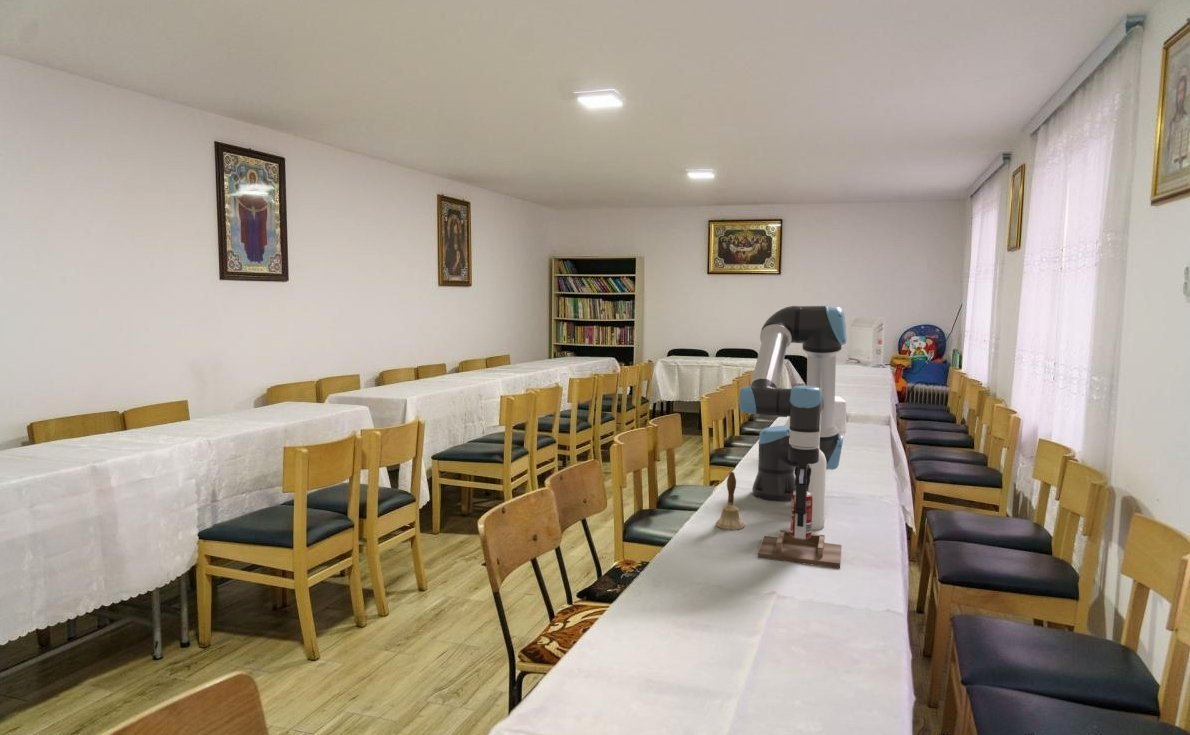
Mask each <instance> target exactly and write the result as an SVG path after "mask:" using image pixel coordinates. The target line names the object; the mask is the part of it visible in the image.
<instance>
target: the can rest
mask: <svg viewBox="0 0 1190 735" xmlns="http://www.w3.org/2000/svg"><path fill="white" fill-rule="evenodd" d="M790 532H791V530H782V529H780V530H779V534H778V536H769V535H764V536H763V539H762V541H761V544H760V546H759V549H758V551H757V558H758V559H759V558H760V559H766V560H774V561H783V562H788V561H789V562H791V563H796V564H797V563H798V564H804V563H805V564H804V565H811V564H813V565H812V566H819V565H820V566H821V567H827V568H834V567H835V569H841V562H842V559H841V558H842V544H837V543H829V542H825V534H817V533H816V534H815V533H811V537H810V539H808V540H798V539H794V538H792V537H791V534H790ZM820 566H819V567H820Z"/></svg>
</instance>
